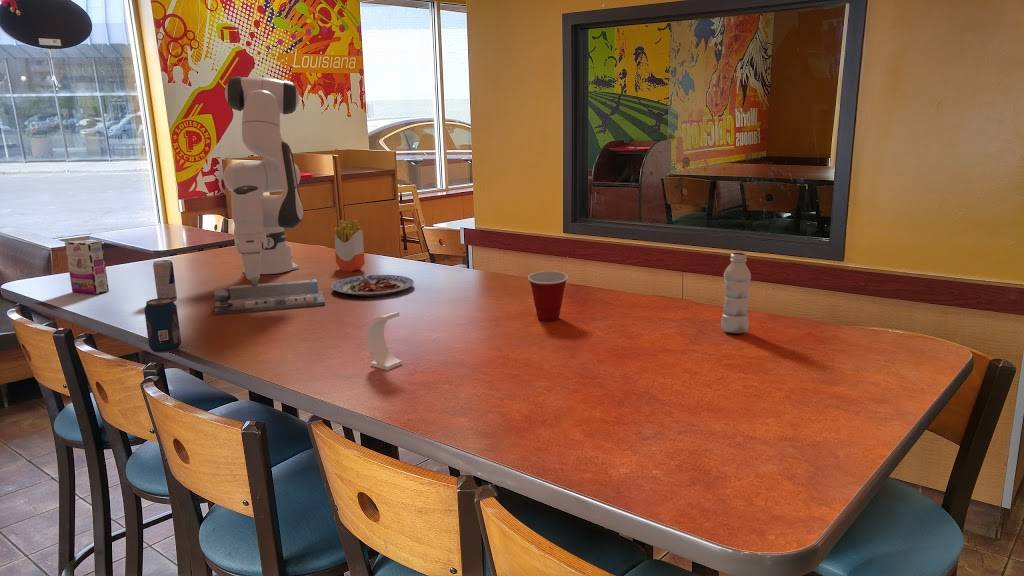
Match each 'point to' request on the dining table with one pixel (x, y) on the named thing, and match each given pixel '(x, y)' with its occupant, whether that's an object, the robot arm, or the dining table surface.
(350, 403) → the dining table surface
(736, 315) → the plastic bottle
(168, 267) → the energy drink
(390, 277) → the ceramic plate
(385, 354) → the headphone stand
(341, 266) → the french fries container
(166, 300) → the soda can
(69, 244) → the candy bar box
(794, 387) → the dining table surface
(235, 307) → the double power outlet
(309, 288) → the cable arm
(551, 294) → the plastic cup
